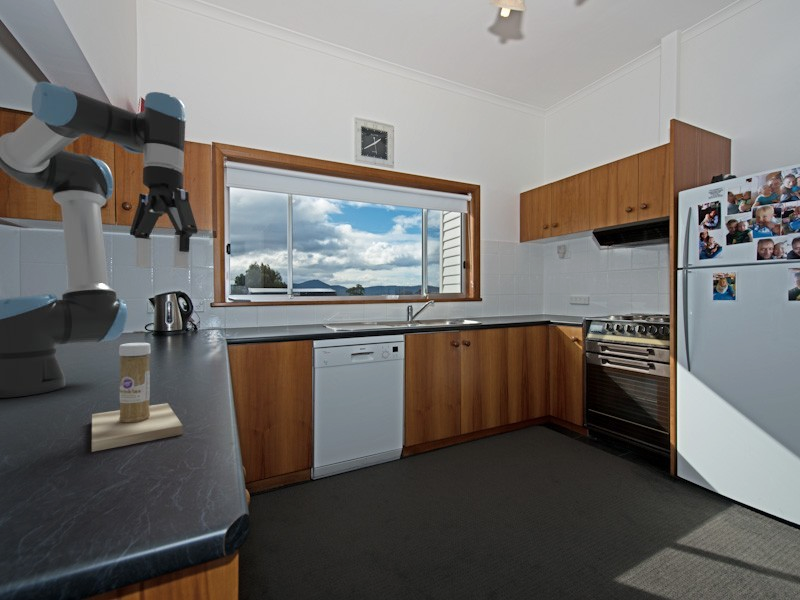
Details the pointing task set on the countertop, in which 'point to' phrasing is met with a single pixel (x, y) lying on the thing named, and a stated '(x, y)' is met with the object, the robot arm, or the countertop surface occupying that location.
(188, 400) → the countertop surface
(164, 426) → the birch board
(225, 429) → the countertop surface
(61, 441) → the countertop surface
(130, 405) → the sprinkles bottle
